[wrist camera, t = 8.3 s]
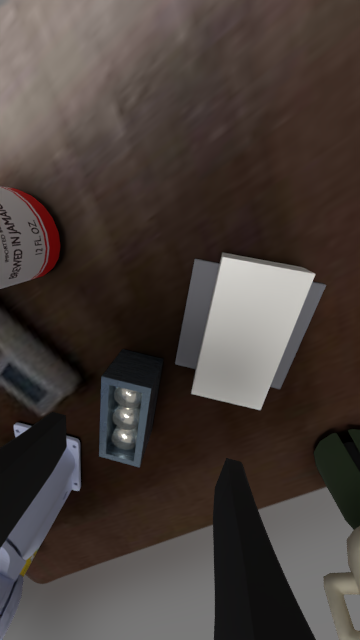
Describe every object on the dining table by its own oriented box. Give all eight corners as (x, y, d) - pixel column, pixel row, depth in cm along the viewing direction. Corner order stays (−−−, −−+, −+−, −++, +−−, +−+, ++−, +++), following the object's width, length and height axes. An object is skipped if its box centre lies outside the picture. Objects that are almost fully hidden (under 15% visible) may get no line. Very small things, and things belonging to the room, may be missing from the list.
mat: (278, 385, 19) (280, 389, 19) (175, 361, 20) (174, 364, 20) (323, 283, 16) (326, 285, 15) (195, 258, 16) (194, 259, 16)
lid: (256, 390, 20) (260, 410, 18) (194, 376, 20) (191, 393, 18) (302, 267, 15) (315, 273, 13) (222, 252, 16) (222, 256, 14)
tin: (151, 430, 24) (139, 467, 20) (117, 421, 24) (99, 456, 21) (163, 358, 20) (151, 388, 17) (122, 349, 21) (101, 376, 17)
